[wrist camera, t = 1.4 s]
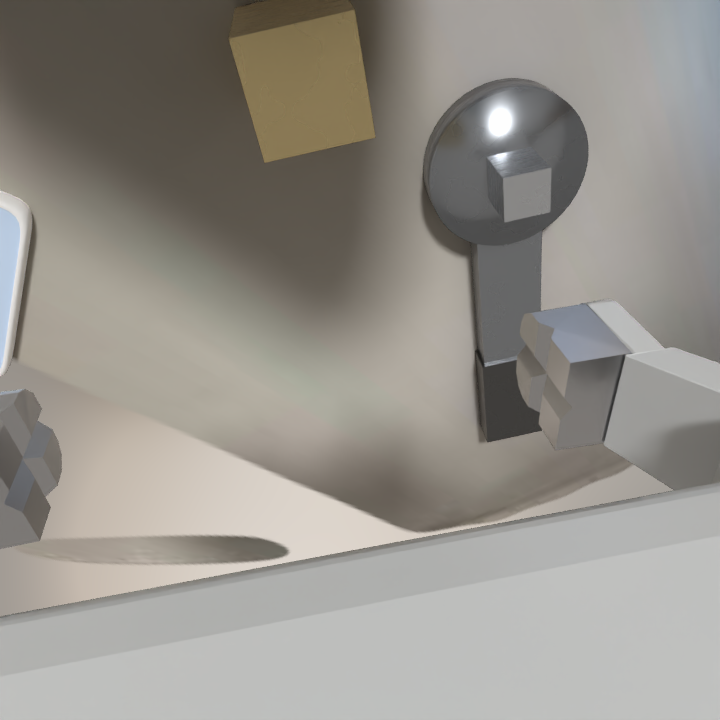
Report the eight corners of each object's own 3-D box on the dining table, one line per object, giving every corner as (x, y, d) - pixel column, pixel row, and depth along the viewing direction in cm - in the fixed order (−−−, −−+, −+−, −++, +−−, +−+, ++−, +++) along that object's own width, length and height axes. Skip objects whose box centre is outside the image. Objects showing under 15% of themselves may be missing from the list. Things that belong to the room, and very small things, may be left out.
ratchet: (414, 98, 32) (434, 129, 28) (578, 61, 32) (620, 86, 28) (452, 430, 49) (468, 477, 45) (560, 406, 49) (585, 452, 45)
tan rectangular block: (337, -17, 28) (354, 9, 23) (356, 92, 32) (375, 137, 26) (235, 7, 29) (228, 38, 23) (264, 113, 32) (264, 162, 26)
